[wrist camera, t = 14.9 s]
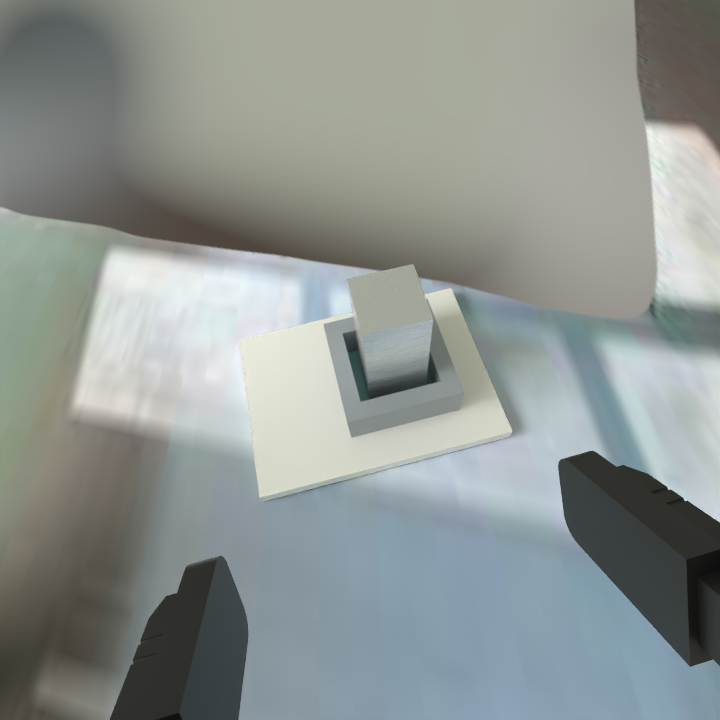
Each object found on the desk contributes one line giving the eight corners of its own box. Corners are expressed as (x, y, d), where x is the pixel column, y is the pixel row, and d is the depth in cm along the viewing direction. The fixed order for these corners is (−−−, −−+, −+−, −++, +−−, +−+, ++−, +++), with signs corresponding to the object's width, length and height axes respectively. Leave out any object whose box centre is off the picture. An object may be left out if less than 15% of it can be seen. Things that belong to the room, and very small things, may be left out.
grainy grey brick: (371, 407, 34) (361, 335, 25) (360, 360, 36) (346, 278, 27) (424, 394, 34) (433, 319, 25) (410, 349, 36) (413, 264, 27)
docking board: (264, 501, 32) (246, 487, 29) (243, 347, 39) (226, 319, 35) (509, 437, 33) (522, 415, 30) (449, 296, 39) (454, 264, 36)
